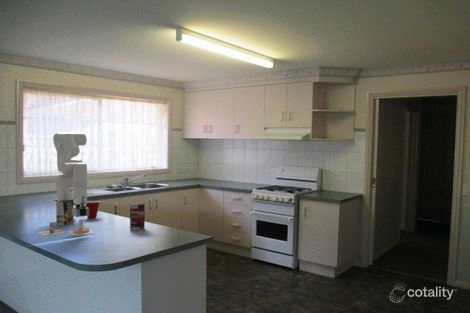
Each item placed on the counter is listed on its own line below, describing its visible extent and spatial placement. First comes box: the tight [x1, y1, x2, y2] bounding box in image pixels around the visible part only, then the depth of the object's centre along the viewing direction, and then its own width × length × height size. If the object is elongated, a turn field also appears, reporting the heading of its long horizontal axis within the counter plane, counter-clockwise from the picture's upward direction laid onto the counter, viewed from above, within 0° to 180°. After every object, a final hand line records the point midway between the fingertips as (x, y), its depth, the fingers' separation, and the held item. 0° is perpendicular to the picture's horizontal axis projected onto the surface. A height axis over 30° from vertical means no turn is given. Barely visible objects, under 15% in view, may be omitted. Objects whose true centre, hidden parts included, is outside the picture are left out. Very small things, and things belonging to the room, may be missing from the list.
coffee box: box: [55, 200, 75, 226], centre depth 237 cm, size 9×6×16 cm
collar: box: [72, 207, 89, 218], centre depth 214 cm, size 7×7×4 cm
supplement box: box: [129, 202, 146, 232], centre depth 224 cm, size 9×5×16 cm, turn 105°
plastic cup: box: [86, 200, 101, 220], centre depth 261 cm, size 11×11×12 cm
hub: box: [66, 219, 96, 238], centre depth 215 cm, size 12×12×8 cm
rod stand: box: [38, 221, 67, 237], centre depth 214 cm, size 12×12×7 cm
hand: (80, 214), depth 215 cm, fingers closed on collar, 7 cm apart
